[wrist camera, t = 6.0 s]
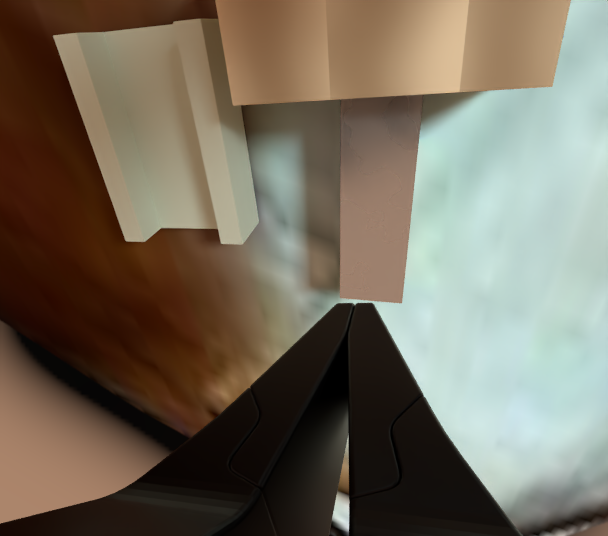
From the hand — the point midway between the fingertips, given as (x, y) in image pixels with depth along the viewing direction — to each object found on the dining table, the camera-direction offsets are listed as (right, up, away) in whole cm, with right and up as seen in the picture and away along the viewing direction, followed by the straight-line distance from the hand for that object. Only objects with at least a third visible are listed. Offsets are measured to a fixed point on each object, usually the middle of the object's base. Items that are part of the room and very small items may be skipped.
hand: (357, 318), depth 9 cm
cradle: (-8, +8, +12) cm, 16 cm away
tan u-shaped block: (+2, +12, +7) cm, 14 cm away
